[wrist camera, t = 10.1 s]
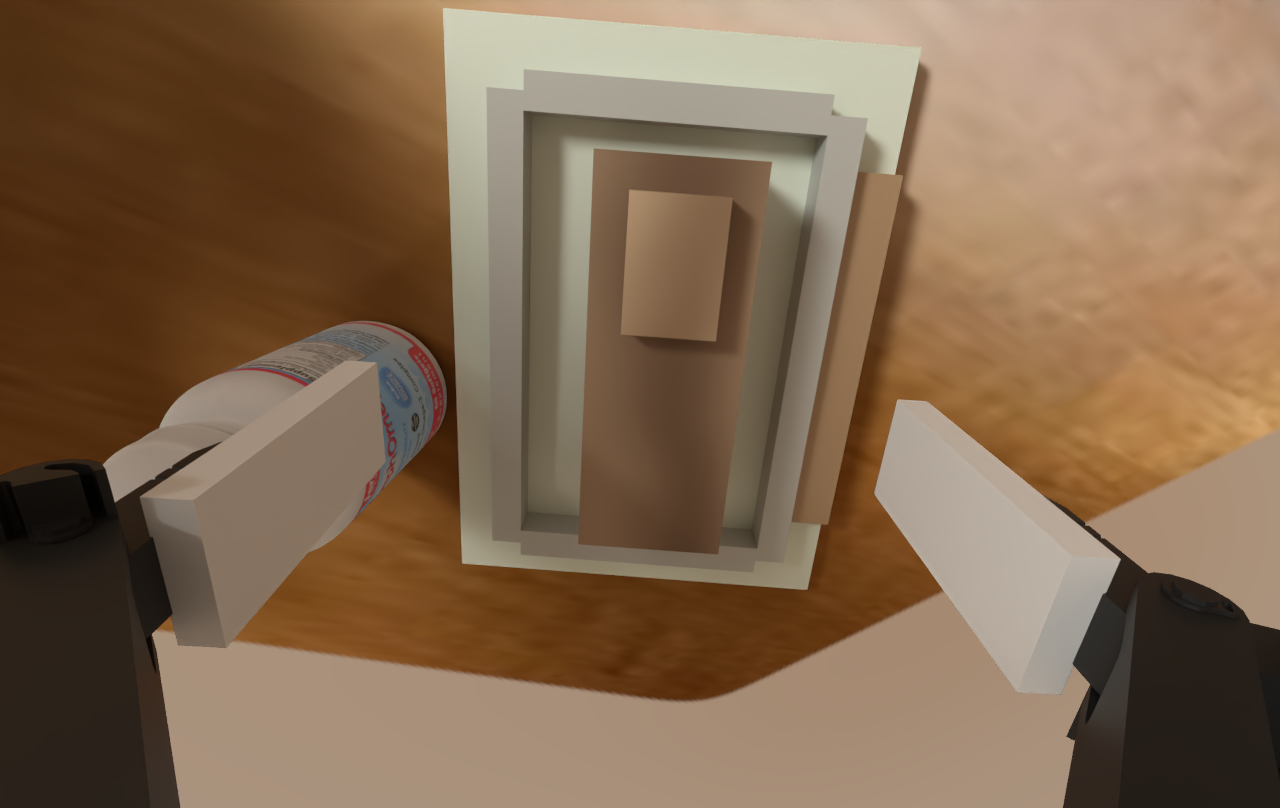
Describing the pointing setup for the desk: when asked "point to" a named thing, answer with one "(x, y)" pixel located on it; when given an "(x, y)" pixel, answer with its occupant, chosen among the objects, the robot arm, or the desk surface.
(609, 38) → the tray
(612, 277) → the brown block
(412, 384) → the pill bottle
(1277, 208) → the desk surface
